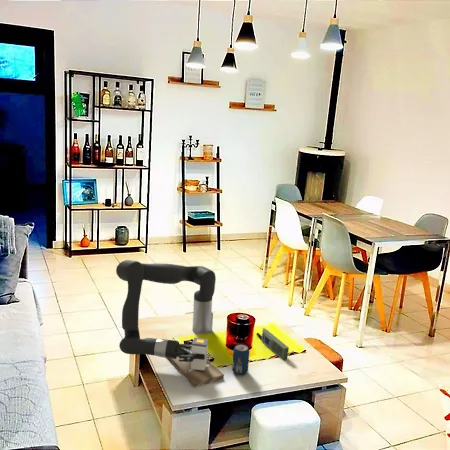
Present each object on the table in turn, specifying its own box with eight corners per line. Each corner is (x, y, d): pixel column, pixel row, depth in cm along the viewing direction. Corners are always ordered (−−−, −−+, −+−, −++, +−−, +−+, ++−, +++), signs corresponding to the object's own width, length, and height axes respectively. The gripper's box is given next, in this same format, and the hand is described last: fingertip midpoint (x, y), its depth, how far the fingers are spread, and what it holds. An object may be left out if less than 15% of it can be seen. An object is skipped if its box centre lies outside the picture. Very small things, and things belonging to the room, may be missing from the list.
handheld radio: (282, 361, 215) (254, 336, 236) (288, 360, 216) (259, 335, 237) (284, 348, 213) (255, 324, 234) (290, 347, 214) (261, 323, 236)
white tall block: (193, 362, 204) (194, 337, 201) (206, 364, 203) (208, 339, 200) (190, 368, 199) (192, 343, 196) (204, 370, 198) (206, 344, 195)
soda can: (244, 366, 208) (246, 342, 205) (250, 375, 202) (252, 350, 199) (229, 368, 206) (231, 344, 203) (235, 377, 199) (236, 352, 196)
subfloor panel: (190, 346, 222) (190, 342, 222) (223, 378, 198) (223, 374, 198) (163, 353, 215) (163, 348, 214) (194, 387, 191) (194, 382, 190)
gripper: (162, 349, 193) (203, 354, 191) (171, 332, 207) (209, 337, 205) (162, 365, 195) (202, 370, 193) (170, 348, 209) (208, 353, 207)
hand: (205, 353), depth 199 cm, fingers closed on white tall block, 5 cm apart
